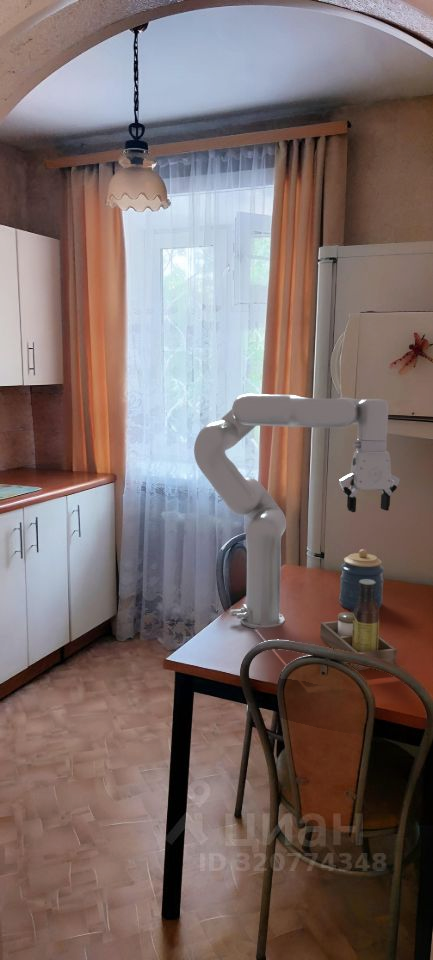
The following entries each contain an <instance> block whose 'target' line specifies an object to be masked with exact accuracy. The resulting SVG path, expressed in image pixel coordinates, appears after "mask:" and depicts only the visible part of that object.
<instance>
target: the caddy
mask: <svg viewBox="0 0 433 960" xmlns="http://www.w3.org/2000/svg"><path fill="white" fill-rule="evenodd" d="M319 635H320V639H321V640H323V641H324V642H325V643H326V644H327V645H328V646H329V647H330V648H335V649H340V650H344V651H349V652H353V653H358V654H363V655H367V656H371V657H375V658H379V659H382V660H386V661H388V662H391V663H393V664H395V665H396V666H397V654H398V649H397V648H396V647H394V646H393V645H391V644H390V643H389V642H388V641H386V640H385V639H384V638H382V637H381V636H379V640H378V650H376V651H367V652H357V651H356V650H355V649H354V648H353V647H352V639H353V635H351V636H341V637H340V636H339V635H338V620H334V621H326V622H320V634H319ZM350 666H351V667H352V666H353V667H354V668H355V669H356V670H355V669H354V668H353V667H352V668H353V669H354V670H355V671H360V670H361V671H363V670H371V669H370V668H366V667H362V666H359V665H355V664H352V665H350Z"/></svg>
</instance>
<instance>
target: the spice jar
mask: <svg viewBox="0 0 433 960" xmlns="http://www.w3.org/2000/svg"><path fill="white" fill-rule="evenodd" d="M337 621H338V635H339V636H340V637H341V636H351V635H353V612H351V611H343V612H339V613H338V615H337Z"/></svg>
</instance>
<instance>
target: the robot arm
mask: <svg viewBox="0 0 433 960" xmlns="http://www.w3.org/2000/svg"><path fill="white" fill-rule="evenodd" d="M232 403H233V404H232V406H231V409H230V410H229V411H228V412H227V413H225V414H224V416H222V417H221V418H220V419H219V420H217V421H214V422H211V423H208V424H207V425H205V426H204V427H202V429H201V430H200V431H199V433H198V434H197V437H196V439H195V442H194V444H193V445H194V446H193V454H194V455H193V456H194V458H195V459H194V460H195V462H196V465H197V466H198V468H199V470H200V471H201V473H202V474H203V475H204V476H205V478H206V480H207V481H209V483H210V485H211V486H212V487H213V489H214V490H215V491H216V493H217V494H218V495H219V497H220V498H221V500H222V501H223V503H224V504H225V505H226V507H227V508H228V509H229V511H230V512H232V513H233V514H234V515H236V516H240V517H241V516H242V517H243V516H246V517H247V519H248V520H249V522H248V524H247V526H246V531H245V544H246V594H245V595H246V601H245V604H244V603H243V604H242V607H240V608H239V609H237V608H236V609H230V610H229V613H228V614H229V616H230V617H231V618H232V617H236V619H240V623H241V624H242V625H244V626H245V627H248V628H250V629H255V630H257V628H259V629H261V628H263V629H266V628H275V627H279V626H282V625H283V624H285V619H286V618H285V616H283V614H281V613H280V610H281V609H280V607H281V605H280V603H281V576H282V575H281V574H282V572H281V571H282V569H281V568H282V561H281V560H282V551H281V549H282V548H281V539H282V536H283V535H284V533H285V531H286V529H287V517H286V516H285V514H284V512H283V511H282V509H281V508H280V507H279V505H278V504H277V502H276V501H275V499H273V497H272V496H271V495H270V492H269V491H267V489H266V488H265V487H264V485H262V483H260V482H259V481H258V480H256V479H255V478H252V477H244V475H243V474H242V473H241V472H240V471H239V469H238V468H237V466H236V465H235V464H234V462H232V461H231V460H230V459H229V457H228V456H227V454H226V451H227V450H229V449H231V448H233V447H234V446H236V445H237V444H238V443H239V442H240V441H241V440H242V439H243V438H244V437H246V436H247V435H248V434H249V433H250V432H251V431H253V430H254V429H255V428H256V427H262V426H264V427H265V426H267V427H287V428H289V427H291V428H320V429H323V428H324V429H344V428H348V427H350V426H352V425H357V437H356V438H357V439H356V441H355V442H353V443H352V448H355V449H356V450H354V452H353V454H352V455H353V456H352V460H351V466H350V473H349V474H347V475H345V476H343V477H342V478H340V479H339V480H338V484H339V486H340V488H341V490H342V492H343V493H344V494H345V496H346V497H347V500H346V501H347V503H346V508H347V510H348V511H349V512H352V513H356V512H357V497H356V495H357V494H358V493H359V491H363V492H364V491H367V492H368V491H381V492H382V493H381V496H380V509H382V510H383V511H387V512H388V511H389V510H390V507H391V496H392V495H393V494H394V492H395V491H396V490H397V488H398V485H399V484H400V481H401V479H400V478H399V477H397V476H396V475H394V474H392V464H391V457H390V452H389V451H387V439H388V426H389V425H388V423H389V422H388V421H389V420H388V419H389V402H388V401H387V400H386V399H381V398H363V399H360V398H359V399H358V398H351V397H345V396H344V397H339V398H315V397H313V398H312V397H302V396H299V395H294V394H259V393H258V394H257V393H245V394H242V395H239V396H238V397H237V398H235V400H234V401H233V402H232ZM348 482H349V487H348V485H347V483H348Z"/></svg>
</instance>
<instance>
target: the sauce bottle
mask: <svg viewBox="0 0 433 960" xmlns="http://www.w3.org/2000/svg"><path fill="white" fill-rule="evenodd" d="M375 588H376V582H375V581H374V580H370V579H362V580H360V581H359V599H358V601H357V603H356V606H355V608H354V610H352V613H353V639H352V647H353V648H354V649H355V650H356V651H357V652H367V651H376V650H378V640H379V634H380V632H379V631H380V630H379V629H380V609H379V607H378V605H377V603H376V602H375V600H374V599H375Z"/></svg>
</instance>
